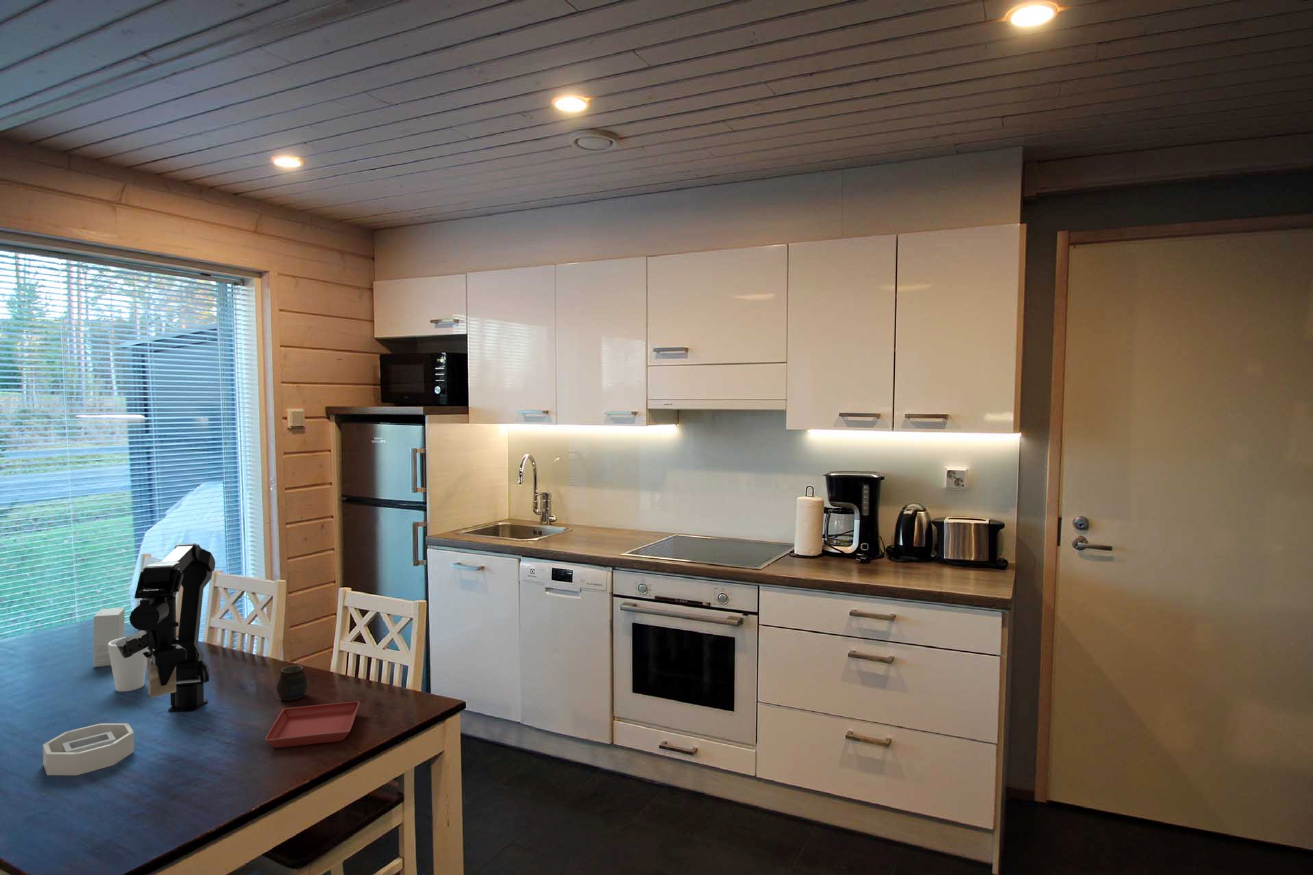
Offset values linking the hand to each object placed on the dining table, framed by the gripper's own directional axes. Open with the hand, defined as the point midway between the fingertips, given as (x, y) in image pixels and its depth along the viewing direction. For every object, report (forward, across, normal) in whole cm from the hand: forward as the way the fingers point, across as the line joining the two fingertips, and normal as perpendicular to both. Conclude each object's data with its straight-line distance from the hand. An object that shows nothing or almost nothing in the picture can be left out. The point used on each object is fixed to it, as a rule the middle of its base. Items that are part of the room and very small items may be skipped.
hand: (162, 683), depth 169 cm
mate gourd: (+13, -3, +30) cm, 33 cm away
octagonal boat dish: (+12, +1, -14) cm, 19 cm away
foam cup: (+13, -42, +1) cm, 44 cm away
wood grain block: (+2, 0, 0) cm, 2 cm away
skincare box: (+13, -70, +1) cm, 71 cm away
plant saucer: (+13, +22, +26) cm, 37 cm away
